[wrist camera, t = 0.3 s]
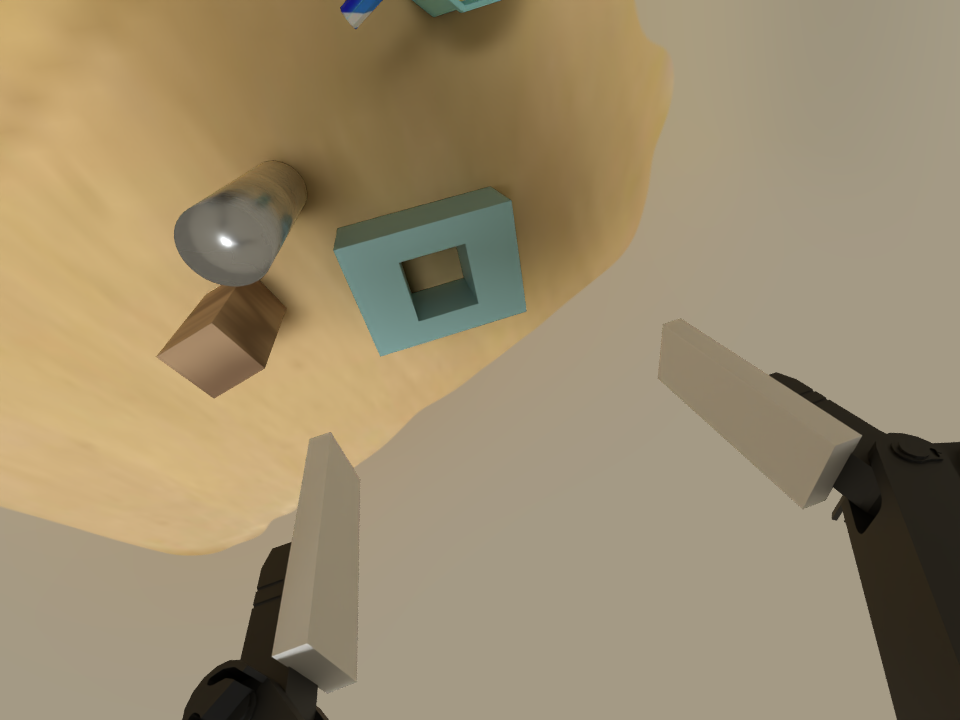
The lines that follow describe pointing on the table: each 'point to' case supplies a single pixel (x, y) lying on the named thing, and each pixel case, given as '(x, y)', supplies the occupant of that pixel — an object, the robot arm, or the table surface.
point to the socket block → (424, 230)
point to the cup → (435, 3)
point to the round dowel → (241, 225)
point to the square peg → (225, 337)
